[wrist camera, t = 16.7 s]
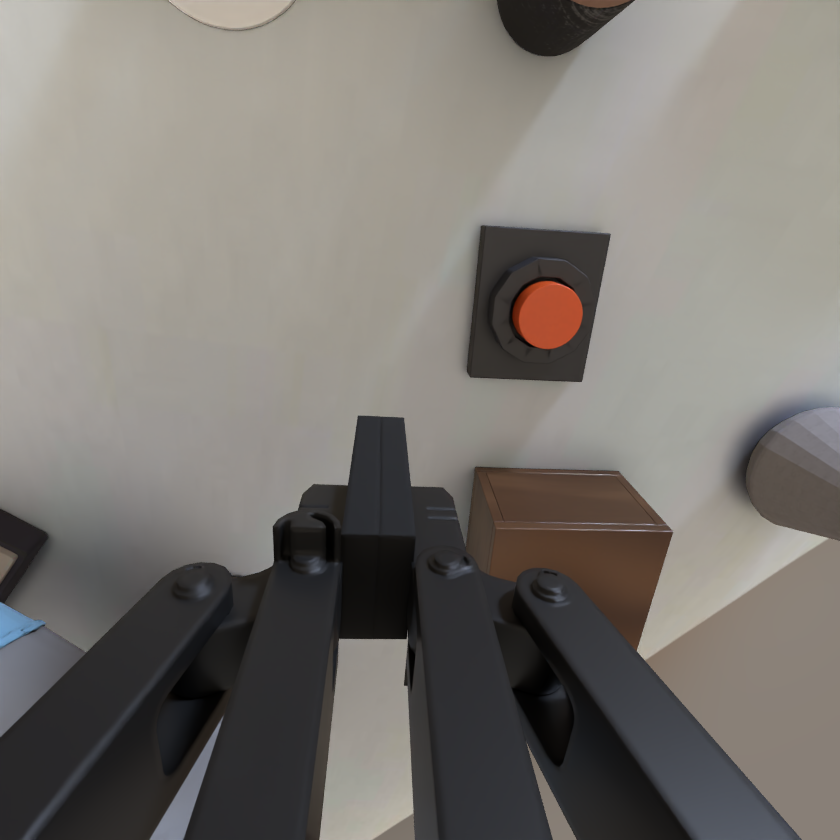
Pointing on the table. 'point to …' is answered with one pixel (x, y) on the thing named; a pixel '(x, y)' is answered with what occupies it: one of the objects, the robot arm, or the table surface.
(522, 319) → the button
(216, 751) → the robot arm
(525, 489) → the cabinet
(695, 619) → the table surface
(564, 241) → the button housing
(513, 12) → the travel mug
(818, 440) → the coffee pot
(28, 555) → the calculator
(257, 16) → the panda figurine
